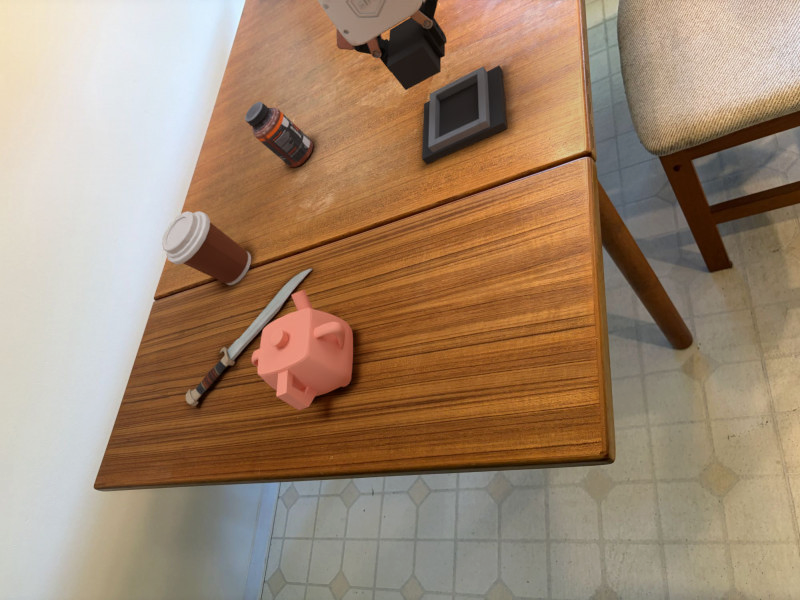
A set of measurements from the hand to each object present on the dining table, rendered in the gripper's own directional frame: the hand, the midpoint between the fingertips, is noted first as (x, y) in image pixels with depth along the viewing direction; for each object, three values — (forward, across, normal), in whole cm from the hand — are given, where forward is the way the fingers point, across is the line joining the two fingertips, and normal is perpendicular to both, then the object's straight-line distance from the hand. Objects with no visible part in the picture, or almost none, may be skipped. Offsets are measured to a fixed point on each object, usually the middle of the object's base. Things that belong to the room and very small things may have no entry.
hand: (421, 59), depth 68 cm
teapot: (+11, -19, -32) cm, 39 cm away
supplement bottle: (+11, -32, +10) cm, 35 cm away
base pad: (+11, 0, 0) cm, 11 cm away
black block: (0, 0, 0) cm, 0 cm away
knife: (+11, -36, -24) cm, 45 cm away
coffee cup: (+11, -43, -10) cm, 45 cm away
